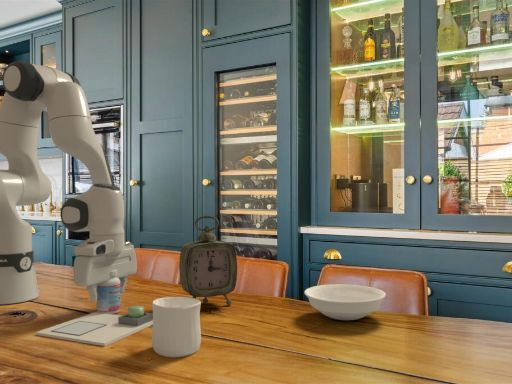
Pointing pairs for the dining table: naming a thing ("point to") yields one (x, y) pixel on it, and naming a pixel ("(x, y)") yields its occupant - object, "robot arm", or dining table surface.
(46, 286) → the dining table surface
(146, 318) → the button housing
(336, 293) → the bowl
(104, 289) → the pill bottle
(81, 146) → the robot arm
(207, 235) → the tabletop clock
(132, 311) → the button
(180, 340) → the cup
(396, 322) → the dining table surface
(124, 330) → the paper board
